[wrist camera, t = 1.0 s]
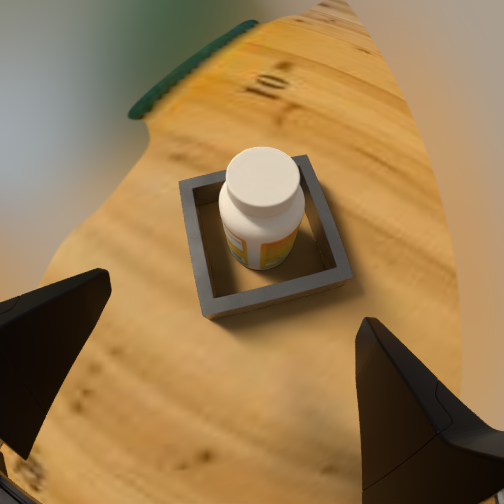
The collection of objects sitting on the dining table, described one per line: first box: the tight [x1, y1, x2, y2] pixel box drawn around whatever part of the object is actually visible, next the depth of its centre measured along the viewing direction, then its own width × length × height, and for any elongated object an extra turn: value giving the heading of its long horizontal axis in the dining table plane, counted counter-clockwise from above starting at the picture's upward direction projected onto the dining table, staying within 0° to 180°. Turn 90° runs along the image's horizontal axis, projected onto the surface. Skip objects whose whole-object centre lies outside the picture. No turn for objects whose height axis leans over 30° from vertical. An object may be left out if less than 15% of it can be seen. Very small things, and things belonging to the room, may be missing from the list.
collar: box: [179, 155, 354, 320], centre depth 22 cm, size 11×11×3 cm
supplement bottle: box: [219, 147, 305, 270], centre depth 19 cm, size 5×5×10 cm
